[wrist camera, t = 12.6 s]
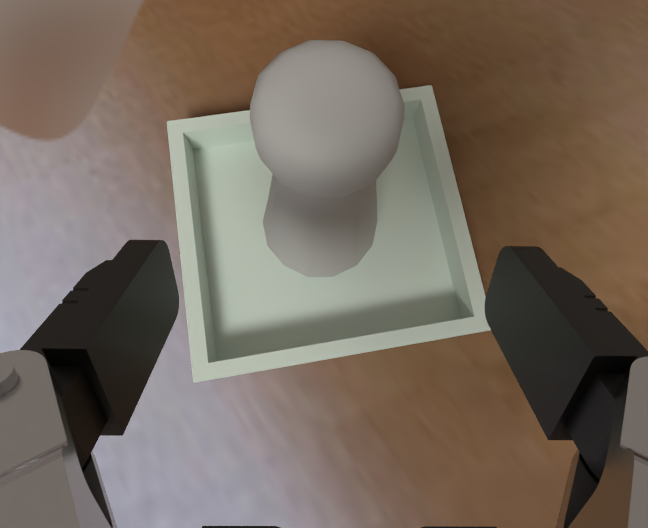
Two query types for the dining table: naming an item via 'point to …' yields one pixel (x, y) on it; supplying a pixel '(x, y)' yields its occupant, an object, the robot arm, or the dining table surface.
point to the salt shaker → (324, 151)
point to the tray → (318, 292)
